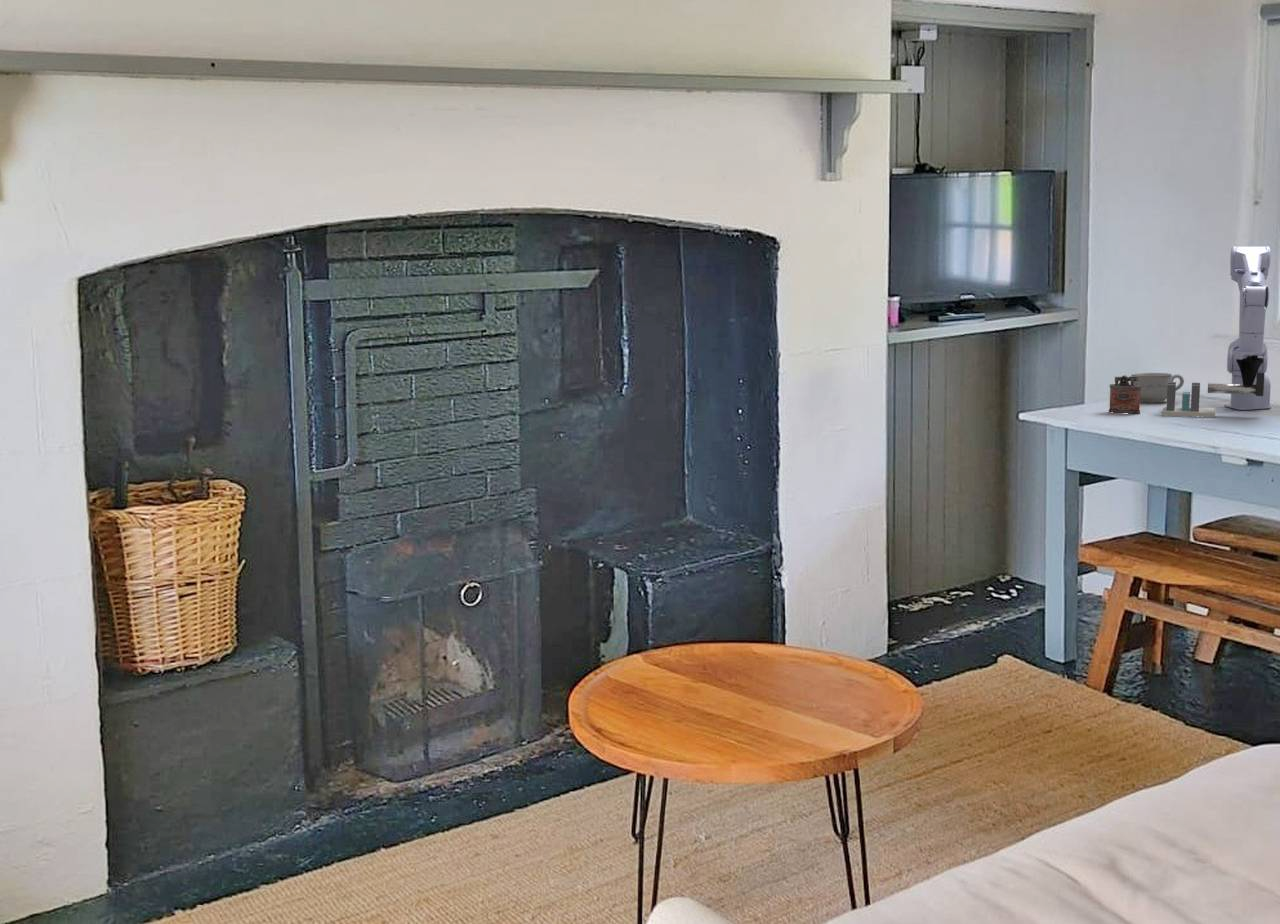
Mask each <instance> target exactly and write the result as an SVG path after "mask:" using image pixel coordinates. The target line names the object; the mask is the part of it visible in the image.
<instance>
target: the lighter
mask: <svg viewBox="0 0 1280 924" xmlns="http://www.w3.org/2000/svg"><path fill="white" fill-rule="evenodd" d="M1138 381H1139V378H1138V377H1134V376H1128V375H1126V374H1123V375H1122V376H1114V383H1111V384H1109V409H1108V413H1109V412H1113V413H1112V414H1115V413H1128V414H1127V415H1135V414H1137V415H1141V410H1140V406H1141V402H1140V389H1141V385H1134V382H1138Z"/></svg>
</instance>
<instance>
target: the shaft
mask: <svg viewBox="0 0 1280 924" xmlns="http://www.w3.org/2000/svg"><path fill="white" fill-rule="evenodd" d="M1265 373H1266V372H1265ZM1265 373H1264V372H1257V376H1256V385H1253V386H1245V385H1243V384H1232V383H1210V382H1209V383H1207V394H1228V395H1231V394H1255V395H1256V396H1263V392H1264V375H1266V374H1265Z"/></svg>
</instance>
